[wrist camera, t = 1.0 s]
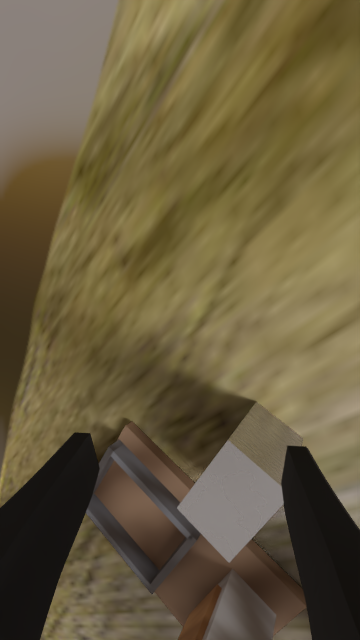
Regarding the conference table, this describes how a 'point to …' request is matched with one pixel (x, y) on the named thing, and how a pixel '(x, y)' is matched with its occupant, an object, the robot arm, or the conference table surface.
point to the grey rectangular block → (241, 483)
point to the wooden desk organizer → (185, 549)
